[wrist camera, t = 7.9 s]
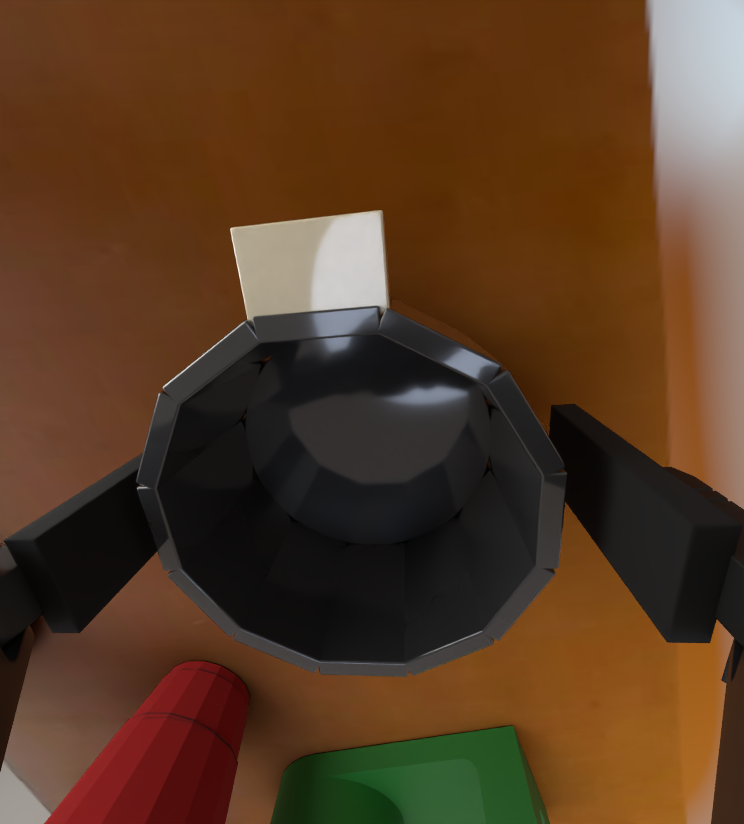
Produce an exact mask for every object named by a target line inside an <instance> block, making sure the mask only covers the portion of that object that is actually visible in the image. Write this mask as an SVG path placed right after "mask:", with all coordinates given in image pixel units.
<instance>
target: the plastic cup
mask: <svg viewBox="0 0 744 824" xmlns="http://www.w3.org/2000/svg"><path fill="white" fill-rule="evenodd" d="M249 699H250V697H249V694H248V691H247V688H246V686H245V685H244V683H243V682H242V681H241V680H240V679H239V678H238V677H237V676H236V675H235V674H234V673H232V672H230V671H229V670H227V669H225V668H223V667H222V666H219V665H216V664H212V663H208V662H205V661H188V662H185V663H182V664H180V665H177V666H175V667H174V668H173V669H172V670H171V672H170V673H169V674H167V675H166V676H165V677H164V678H163V679H162V680H161V681H160V683H159V684H158V685H157V686H156V688H155V689H154V690H153V691H152V693H151V694H150V695H149V696H148V698H147V699H146V700H145V701H144V703H143V704H142V705H141V706H140V708H139V709H138V710H137V711H136V713H135V714H134V715H133V716H132V718H130V719H128V720H127V721H126V723H125V724H124V725H123V726H122V727H121V729H120V730H119V731H118V732H117V733H116V735H115V736H114V737H113V738H112V740H111V741H110V742H109V743H108V745H107V746H106V747H105V748H104V750H103V751H102V752H101V753H100V755H99V756H98V757H97V758H96V760H95V761H94V762H93V763H92V765H91V766H90V767H89V768H88V770H87V771H86V772H85V773H84V775H83V776H82V777H81V778H80V780H79V781H78V782H77V783H76V785H75V786H74V787H73V788H72V790H71V791H70V792H69V793H68V795H67V796H66V797H65V798H64V800H63V801H62V802H61V803H60V805H59V806H58V807H57V808H56V810H55V811H54V812H53V813H52V815H51V816H50V817H49V818H48V820H47V821H46V822H45V823H44V824H225V822H226V817H227V812H228V808H229V803H230V798H231V793H232V789H233V784H234V779H235V775H236V770H237V765H238V762H237V758H238V754H239V749H240V745H241V741H242V737H243V732H244V728H245V724H246V719H247V715H248V710H249V709H248V704H249Z"/></svg>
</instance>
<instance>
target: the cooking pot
mask: <svg viewBox="0 0 744 824" xmlns="http://www.w3.org/2000/svg"><path fill="white" fill-rule="evenodd" d="M230 231H231V236H232V241H233V246H234V251H235V257H236V262H237V267H238V272H239V277H240V282H241V287H242V293H243V298H244V303H245V308H246V313H247V318H248V320H245V321H243V322H242V323H241V324H240V325H238V326H237V327H236V328H235V329H233V330H232V331H231V332H230V333H228V334H227V335H226V336H225V337H223V338H222V339H221V340H220V341H219V342H217V343H216V344H215V345H214V346H212V347H211V348H210V349H209V350H207V351H206V352H205V353H204V354H202V355H201V356H200V357H199V358H197V359H196V360H195V361H194V362H193V363H191V364H190V365H189V366H188V367H186V368H185V369H184V370H183V371H181V372H180V373H179V374H178V375H176V376H175V377H174V378H173V379H171V380H170V381H169V382H168V383H167V384H165V385H164V387H163V389H164V391H162V392H160V393H159V394H158V398H157V402H156V405H155V409H154V413H153V417H152V421H151V425H150V429H149V433H148V436H147V440H146V444H145V448H144V452H143V456H142V460H141V464H140V468H139V471H138V475H137V479H136V482H137V483H138V484H140V485H139V486H138V487H137V493H138V496H139V499H140V501H141V504H142V507H143V510H144V513H145V516H146V519H147V522H148V525H149V528H150V531H151V534H152V537H153V540H154V543H155V546H156V548H157V551H158V554H159V557H160V560H161V563H162V566H163V569H164V570H165V571H170V572H169V573H168V575H167V576H168V577H169V578H170V579H171V580H172V581H173V582H174V583H175V584H176V585H177V586H178V587H179V588H180V589H181V590H182V591H183V592H184V593H185V594H186V595H187V596H188V597H189V598H190V599H191V600H192V601H193V602H194V603H195V604H196V605H197V606H198V607H199V608H200V609H201V610H202V611H203V612H204V613H205V614H206V615H207V616H208V617H209V618H210V619H211V620H212V621H213V622H214V623H215V624H216V625H217V626H218V627H219V628H221V629H222V630H223V631H224V632H225V633H226V634H227V635H228V636H229V637H230V636H232V635H234V634H235V636H234V640H235V641H238V642H240V643H242V644H245V645H247V646H250V647H252V648H254V649H257V650H259V651H262V652H264V653H267V654H269V655H271V656H274V657H276V658H279V659H281V660H283V661H286V662H288V663H291V664H293V665H296V666H298V667H300V668H303V669H305V670H308V671H310V672H312V673H315V672H316V671H317V669H318V668H319V671H320V674H326V675H363V676H400V677H406V676H408V670H409V672H410V673H411V674H412V675H416V674H419V673H422V672H424V671H427V670H429V669H432V668H434V667H437V666H439V665H442V664H445V663H447V662H450V661H452V660H455V659H457V658H460V657H462V656H465V655H468V654H470V653H473V652H475V651H478V650H480V649H483V648H485V647H488V646H490V645H493V644H494V640H493V639H496V640H500V639H501V638H502V637H503V636H504V635H505V633H506V632H507V631H508V630H509V629H510V627H511V626H512V625H513V624H514V623H515V622H516V620H517V619H518V618H519V617H520V616H521V614H522V613H523V612H524V611H525V610H526V609H527V607H528V606H529V605H530V604H531V603H532V602H533V600H534V599H535V598H536V597H537V596H538V594H539V593H540V592H541V591H542V590H543V589H544V587H545V586H546V585H547V584H548V583H549V582H550V580H551V579H552V578H553V577H554V576H555V574H556V573H555V570H554V569H557V568H558V567H559V559H560V549H561V538H562V528H563V518H564V507H565V497H566V487H567V476H568V474H567V472H566V471H565V470H564V468H565V463H564V461H563V459H562V458H561V456H560V454H559V453H558V451H557V449H556V448H555V446H554V444H553V443H552V441H551V439H550V438H549V436H548V434H547V433H546V431H545V429H544V428H543V426H542V424H541V423H540V421H539V419H538V418H537V416H536V414H535V413H534V411H533V409H532V408H531V406H530V404H529V403H528V401H527V399H526V398H525V396H524V394H523V393H522V391H521V389H520V388H519V386H518V384H517V383H516V381H515V379H514V378H513V376H512V374H511V373H510V371H509V370H508V369H506V368H505V367H504V366H503V365H502V364H501V363H500V362H499V361H498V360H496V359H495V358H494V357H493V356H491V355H490V354H489V353H488V352H486V351H485V350H484V349H482V348H481V347H480V346H479V345H477V344H476V343H475V342H474V341H472V340H471V339H470V338H468V337H467V336H466V335H465V334H463V333H462V332H461V331H459V330H457V329H455V328H453V327H451V326H449V325H447V324H445V323H443V322H441V321H439V320H437V319H435V318H433V317H431V316H429V315H426V314H424V313H422V312H420V311H418V310H416V309H414V308H412V307H410V306H408V305H406V304H404V303H402V302H400V301H398V300H396V299H394V300H393V301H392V302H391V300H390V288H389V273H388V259H387V244H386V230H385V218H384V215H383V212H382V211H381V210H376V211H367V212H359V213H351V214H342V215H334V216H325V217H317V218H308V219H300V220H291V221H283V222H275V223H266V224H258V225H249V226H241V227H232V228H231V230H230ZM486 400H487V401H486Z"/></svg>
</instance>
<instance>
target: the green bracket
mask: <svg viewBox="0 0 744 824" xmlns="http://www.w3.org/2000/svg"><path fill="white" fill-rule="evenodd" d="M270 824H550V822H549V819H548V815H547V811H546V809H545V806H544V804H543V801H542V798H541V796H540V793H539V791H538V788H537V786H536V783H535V780H534V778H533V775H532V773H531V770H530V768H529V765H528V763H527V760H526V757H525V755H524V752H523V750H522V747H521V745H520V742H519V739H518V737H517V734H516V732H515V729H514V727H513V726H507V727H500V728H493V729H486V730H479V731H473V732H466V733H459V734H452V735H445V736H438V737H431V738H424V739H417V740H410V741H403V742H396V743H390V744H383V745H376V746H369V747H362V748H355V749H348V750H341V751H334V752H327V753H320V754H314V755H310V756H306V757H303V758H301V759H298V760H296V761H295V762H293V763H292V764H291V765H289V766H288V767H287V769H286V770H285V771H284V773H283V776H282V779H281V783H280V787H279V791H278V795H277V799H276V803H275V807H274V811H273V815H272V819H271V823H270Z"/></svg>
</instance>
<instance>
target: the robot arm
mask: <svg viewBox="0 0 744 824" xmlns="http://www.w3.org/2000/svg"><path fill="white" fill-rule="evenodd" d="M549 438H550V439H551V441H552V443H553V444H554V446H555V448H556V449H557V451H558V453H559V454H560V456H561V458H562V459H563V461H564V463H565V468H564V470H565V471H566V472H567V474H568V476H567V487H566V497H565V502H566V503H567V504H568V506H569V507H570V509H571V510H572V511H573V513H574V514H575V515H576V517H577V518H578V520H579V521H580V522H581V524H582V525H583V527H584V528H585V529H586V531H587V532H588V533H589V535H590V536H591V538H592V539H593V540H594V542H595V543H596V545H597V546H598V547H599V549H600V550H601V551H602V553H603V554H604V556H605V557H606V558H607V560H608V561H609V563H610V564H611V565H612V567H613V568H614V569H615V571H616V572H617V574H618V575H619V576H620V578H621V579H622V581H623V582H624V583H625V585H626V586H627V587H628V589H629V590H630V592H631V593H632V594H633V596H634V597H635V599H636V600H637V601H638V603H639V604H640V605H641V607H642V608H643V610H644V611H645V612H646V614H647V615H648V617H649V618H650V619H651V621H652V622H653V623H654V625H655V626H656V628H657V629H658V630H659V632H660V633H661V635H662V636H663V637H664V639H665V640H666V642H672V643H710V641H711V637H712V634H713V630H714V627H715V623H716V620H718V621H719V622H720V623H721V624H722V625H723V626H724V627H725V628H726V629H727V630H728V632H729V633H730V634H731V635H732V636H733V637H734V640H733V644H732V647H731V650H730V654H729V657H728V660H727V663H726V667H725V670H724V673H723V677H722V681H723V682H725V683H727V685H726V694H725V703H724V711H723V721H722V729H721V739H720V748H719V757H718V765H717V774H716V784H715V793H714V802H713V811H712V820H711V824H744V509H742V508H741V507H739V506H738V505H736V504H735V503H733V502H732V501H728V500H727V498H726V497H724V496H723V495H721V494H720V493H718V492H717V491H713V490H712V488H711V487H709V486H708V485H706V484H705V483H703V482H702V481H700V480H699V479H697V478H696V477H694V476H692V475H689V474H687V473H685V472H682V471H680V470H677V469H675V468H672V467H662V466H660V465H659V464H657V463H656V462H655V461H653V460H652V459H651V458H649V457H648V456H646V455H645V454H644V453H642V452H641V451H639V450H638V449H637V448H635V447H634V446H632V445H631V444H630V443H628V442H627V441H625V440H624V439H623V438H621V437H620V436H619V435H617V434H616V433H614V432H613V431H612V430H610V429H609V428H607V427H606V426H605V425H603V424H602V423H600V422H599V421H598V420H596V419H595V418H594V417H592V416H591V415H589V414H588V413H587V412H585V411H584V410H582V409H581V408H580V407H578V406H577V405H575V404H565V405H551V416H550V432H549ZM142 456H143V453H142V454H140V455H139V456H137V457H135V458H134V459H132V460H131V461H129V462H127V463H126V464H124V465H123V466H121V467H120V468H118V469H116V470H115V471H113V472H112V473H110V474H108V475H107V476H105V477H104V478H102V479H101V480H99V481H97V482H96V483H94V484H93V485H91V486H89V487H88V488H86V489H85V490H83V491H81V492H80V493H78V494H77V495H75V496H74V497H72V498H70V499H69V500H67V501H66V502H64V503H62V504H61V505H59V506H58V507H56V508H55V509H53V510H51V511H50V512H48V513H47V514H45V515H43V516H42V517H40V518H39V519H37V520H36V521H34V522H32V523H31V524H29V525H28V526H26V527H24V528H23V529H21V530H20V531H18V532H16V533H15V534H13V535H12V536H10V537H9V538H7V539H5V540H4V542H5V544H6V545H4V546H3V547H1V548H0V771H1V767H2V763H3V760H4V756H5V752H6V748H7V744H8V740H9V736H10V732H11V729H12V725H13V721H14V717H15V713H16V709H17V705H18V701H19V697H20V694H21V690H22V686H23V682H24V678H25V674H26V670H27V666H28V662H29V659H30V655H31V651H32V647H33V643H34V633H33V631H32V629H31V627H30V626H29V625H30V624H31V623H33V622H34V621H35V620H36V619H37V618H38V617H39V616H40V615H41V614H43V616H44V618H45V620H46V622H47V624H48V626H49V628H50V630H51V632H52V633H80V632H81V631H82V630H83V629H84V628H85V627H86V626H87V625H88V624H89V623H90V622H91V621H92V620H93V618H94V617H95V616H96V615H97V614H98V613H99V612H100V611H101V610H102V609H103V608H104V607H105V606H106V605H107V604H108V603H109V602H110V601H111V599H112V598H113V597H114V596H115V595H116V594H117V593H118V592H119V591H120V590H121V589H122V588H123V587H124V586H125V585H126V584H127V583H128V581H129V580H130V579H131V578H132V577H133V576H134V575H135V574H136V573H137V572H138V571H139V570H140V569H141V568H142V567H143V566H144V565H145V564H146V562H147V561H148V560H149V559H150V558H151V557H152V556H153V555H154V554H155V553H156V552H157V548H156V546H155V543H154V540H153V537H152V534H151V531H150V528H149V525H148V522H147V519H146V516H145V513H144V510H143V507H142V504H141V501H140V499H139V496H138V493H137V487H138V486H139V485H140V484H138V483H137V482H136V479H137V475H138V471H139V468H140V464H141V460H142Z"/></svg>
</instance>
